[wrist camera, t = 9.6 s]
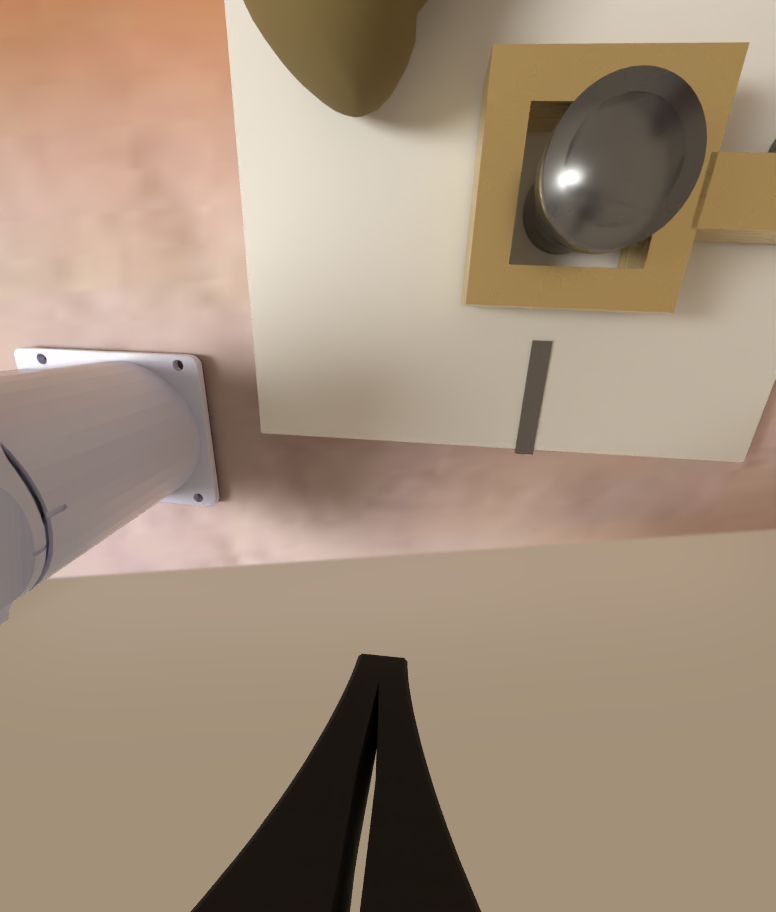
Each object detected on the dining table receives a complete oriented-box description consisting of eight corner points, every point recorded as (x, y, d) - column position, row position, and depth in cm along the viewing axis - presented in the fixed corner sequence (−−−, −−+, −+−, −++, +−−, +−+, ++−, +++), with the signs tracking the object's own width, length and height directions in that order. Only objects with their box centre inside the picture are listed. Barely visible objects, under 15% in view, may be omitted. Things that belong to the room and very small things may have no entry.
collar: (460, 306, 15) (468, 303, 13) (482, 84, 13) (497, 24, 10) (801, 320, 14) (886, 320, 12) (894, 84, 12) (1026, 18, 9)
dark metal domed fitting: (479, 450, 18) (496, 492, 13) (519, 125, 13) (563, 37, 9) (746, 467, 17) (854, 516, 13) (879, 124, 13) (1109, 26, 8)
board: (269, 427, 19) (260, 433, 18) (233, -33, 13) (219, -60, 13) (726, 455, 18) (743, 462, 17) (913, -57, 12) (955, -89, 11)
